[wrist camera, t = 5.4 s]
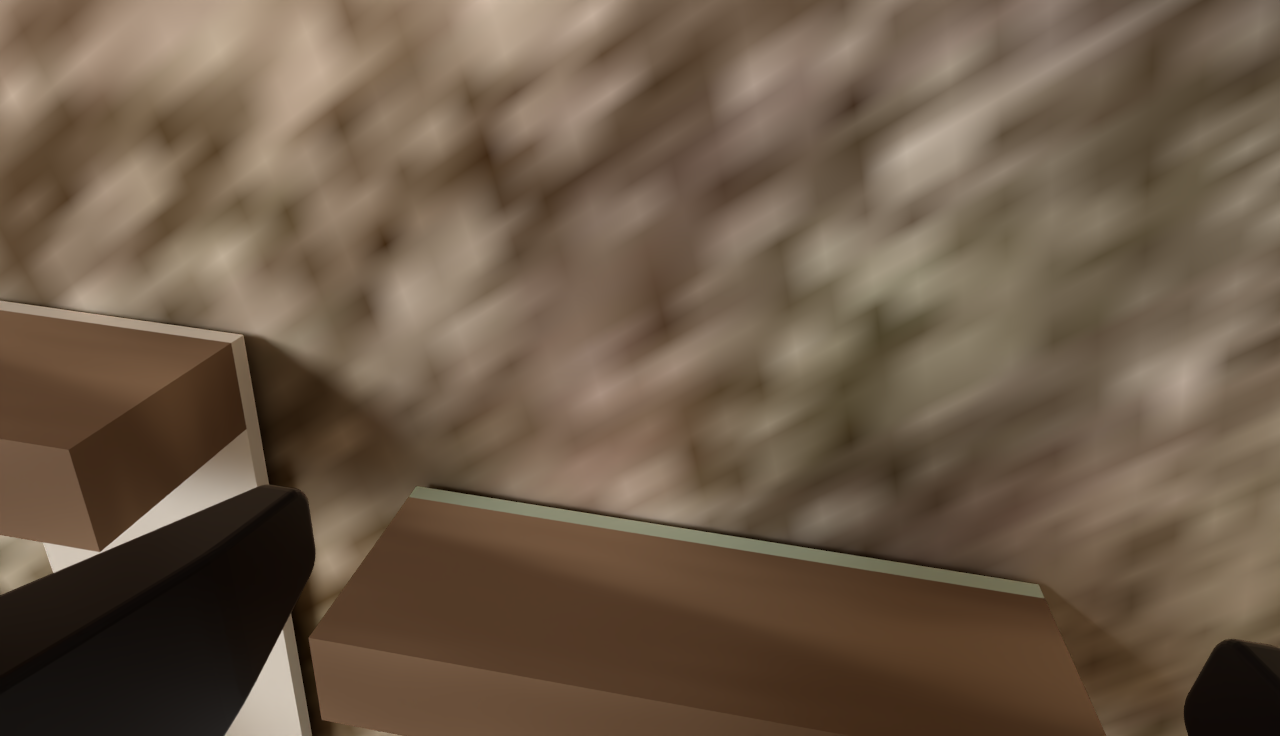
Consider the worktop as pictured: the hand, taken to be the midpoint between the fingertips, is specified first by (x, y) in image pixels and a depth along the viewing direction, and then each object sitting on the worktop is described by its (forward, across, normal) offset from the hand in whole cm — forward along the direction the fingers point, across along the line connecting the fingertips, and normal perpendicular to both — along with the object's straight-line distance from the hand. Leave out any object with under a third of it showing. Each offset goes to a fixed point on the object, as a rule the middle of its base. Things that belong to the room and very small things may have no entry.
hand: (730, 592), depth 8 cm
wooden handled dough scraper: (+7, 0, +13) cm, 15 cm away
